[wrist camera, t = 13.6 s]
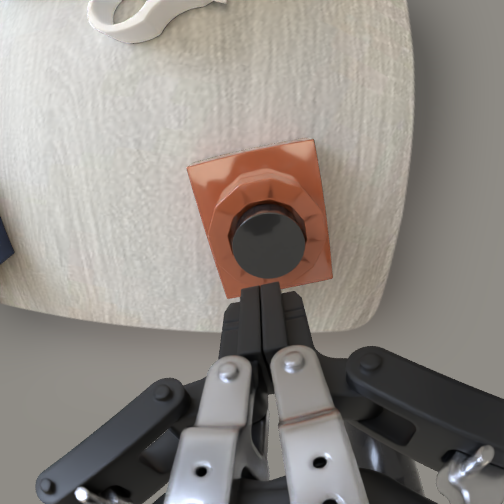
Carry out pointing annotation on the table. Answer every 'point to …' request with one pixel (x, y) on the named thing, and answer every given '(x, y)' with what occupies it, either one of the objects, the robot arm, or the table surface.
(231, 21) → the table surface
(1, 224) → the dial panel
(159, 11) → the white brass knuckles
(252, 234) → the dark grey short cylinder
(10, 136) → the table surface
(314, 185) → the button base
